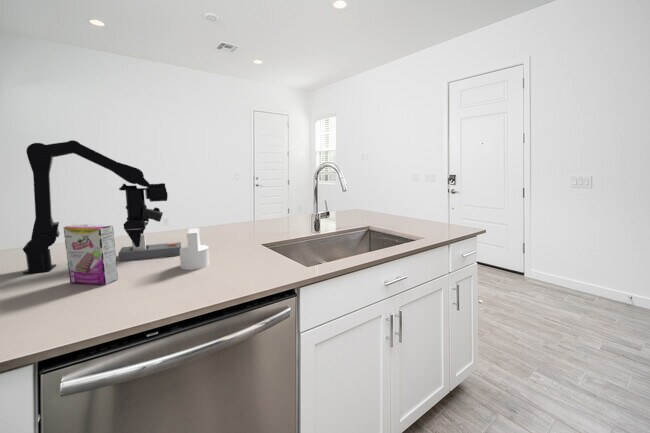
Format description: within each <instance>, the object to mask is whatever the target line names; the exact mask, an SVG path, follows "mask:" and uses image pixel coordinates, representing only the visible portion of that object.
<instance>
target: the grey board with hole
mask: <svg viewBox="0 0 650 433" xmlns="http://www.w3.org/2000/svg"><path fill="white" fill-rule="evenodd" d="M181 243H182V242H167V243H155V244H146V249H145V250H133V248H132V245H130V246H122V247H121V248H120V250H119V251H118V252H117V253H118V261H119V262H122V261H132V260H134V261H135V260H143V259H144V260H145V259H154V258H163V257H174V256H180V248H182V244H181Z"/></svg>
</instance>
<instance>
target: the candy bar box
mask: <svg viewBox="0 0 650 433" xmlns="http://www.w3.org/2000/svg"><path fill="white" fill-rule="evenodd" d="M63 234H64V244H65V251H66V258H67V260H66V262H67V268H68V276H69V283H70V284H80V285H81V284H82V285H99V286H101V285H102V286H106V285H109V284H112V283H113V282H116V281H118V280H119V279H118V278H119V276H118V266H117V256H116V246H115V245H116V244H115V234H114V226H113V225H111V224H90V223H89V224H87V223H86V224H85V223H83V224H82V223H77V224H71V225H66V226H63Z"/></svg>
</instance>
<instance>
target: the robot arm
mask: <svg viewBox="0 0 650 433" xmlns="http://www.w3.org/2000/svg"><path fill="white" fill-rule="evenodd" d="M71 154H73V155H76V156H79V157H81V158H83V159H85V160H87V161H90V162H91V163H94V164H95V165H98V166H100V167H102V168H104V169H106V170H109V171H111V172H112V173H114V174H115V175H117V176H118V177H119V178H121V179H122V180H124V181H125V182H127V183H129V184H133V185H127V184H126V183H123V184H122V185H121V186H120V187H119V188H118V191H125V201H126V202H125V203H126V206H125V210H126V214H127V215H126V216H127V217H126V221H125V222H124V223H123V230H124V231H125V232H126V234H127V235H128V237H129V238H130V240H131V243H132V242H133V243H134V245H135V246H136V247H139V246H140V239H141V234H144V232H145V230H146V227H147V225H148V224H149V221H150V220H153V221H155V222H159V223H160V222H161V220H162V217H163V214H164V213H163V211H161V210H160V208H159V207H154V208H153V209H152V208H151V209H150V208H148V207H147V206H148V205H147V204H145V203H146V202H145V201H146V200H149V202H150V203H151V202H167V201H168V198H169V197H168V195H169V194H168V191H167V187H166V183H163V182H161V183H149V181H148V180H147V179H146V178H145V177H144V175H145V174H144V173H143V171H142V170H141V169H139V168H137V167H135V166H131V165H128V164H125V163H121V162H118V161H116V160H114V159H112V158H110V157H107V156H106V155H104V154H102V153H100V152H98V151H96V150H94V149H91V148H90V147H88V146H85V145H83V144H81V143H80V142H78V141H77V140H68V141H63V142H56V143H55V142H54V143H48V144H46V143H41V142H35V143H33V142H32V143H31V144H29V145H28V146H27V147H26V155H27V159H28V163H29V165H30V169H31V171H32V175H33V176H32V177H33V178H32V179H33V194H34V214H35V215H34V216H35V220H34V223H33V229H32V232H31V237H30V238H31V239H30V240H29V241H27V243H26V244H25V245H24V246H23V248H22V250H23V252H24V254H25V259H26V266H27V269H25V270H24V271H22V274H23V275H24V274H35V273H44V272H51V271H52V270H54V268H55V267H57V264H54V263H52V255H51V249H50V247H51V246H52V245H54V244H55V242H56V240H57V238H60V234H61V233H60V231H59V224H60V222H59V221H57V222H54V219H53V216H52V199H51V196H52V195H51V180H50V179H51V178H50V174H51V170H52V166H53V161H54V160H53V159H54V158H56V157H62V156H67V155H71ZM137 185H139V186H140V187H138V186H137ZM145 199H146V200H145Z"/></svg>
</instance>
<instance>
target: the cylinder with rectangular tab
mask: <svg viewBox="0 0 650 433" xmlns="http://www.w3.org/2000/svg"><path fill="white" fill-rule="evenodd" d="M200 238H201V235H200V228H199V227H198V228H197V227H195V228H194V227H192V228H188V231H187V232H186V240H187V245H186V246H183V247H182V246H181V248H180V255H179V260H180V263H179V264H180V268H181V269H182V270H185V271H187V270H188V271H190V270H191V271H193V270H200V269H204V268H208V267H209V266H210V250H209V248H210V246H208V245H204V244H201V239H200Z"/></svg>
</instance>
